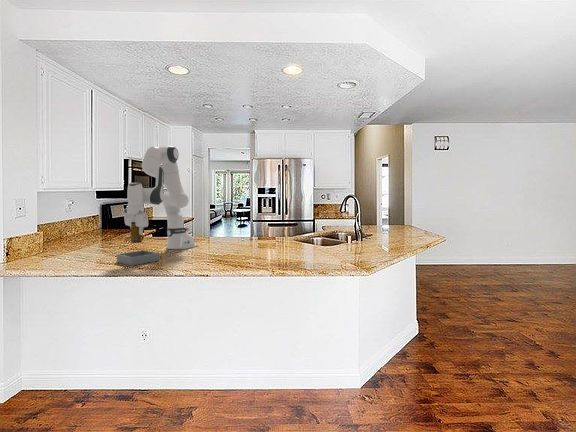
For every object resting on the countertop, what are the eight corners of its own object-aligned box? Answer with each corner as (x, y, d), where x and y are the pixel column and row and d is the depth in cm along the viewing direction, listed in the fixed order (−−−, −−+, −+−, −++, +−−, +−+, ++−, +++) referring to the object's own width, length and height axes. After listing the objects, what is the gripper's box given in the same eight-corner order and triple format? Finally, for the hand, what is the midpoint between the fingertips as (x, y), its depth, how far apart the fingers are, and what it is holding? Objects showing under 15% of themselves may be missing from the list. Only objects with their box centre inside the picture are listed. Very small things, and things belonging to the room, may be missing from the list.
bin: (143, 257, 266) (143, 250, 265) (159, 261, 255) (159, 253, 255) (116, 262, 253) (116, 254, 252) (132, 265, 242) (131, 257, 241)
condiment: (132, 241, 256) (132, 221, 255) (147, 241, 256) (146, 221, 255) (128, 243, 249) (127, 222, 248) (142, 243, 249) (142, 222, 248)
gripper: (150, 210, 247) (151, 234, 248) (131, 209, 260) (132, 232, 261) (140, 211, 242) (141, 236, 243) (121, 210, 255) (122, 233, 256)
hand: (136, 234), depth 252 cm, fingers closed on condiment, 6 cm apart
